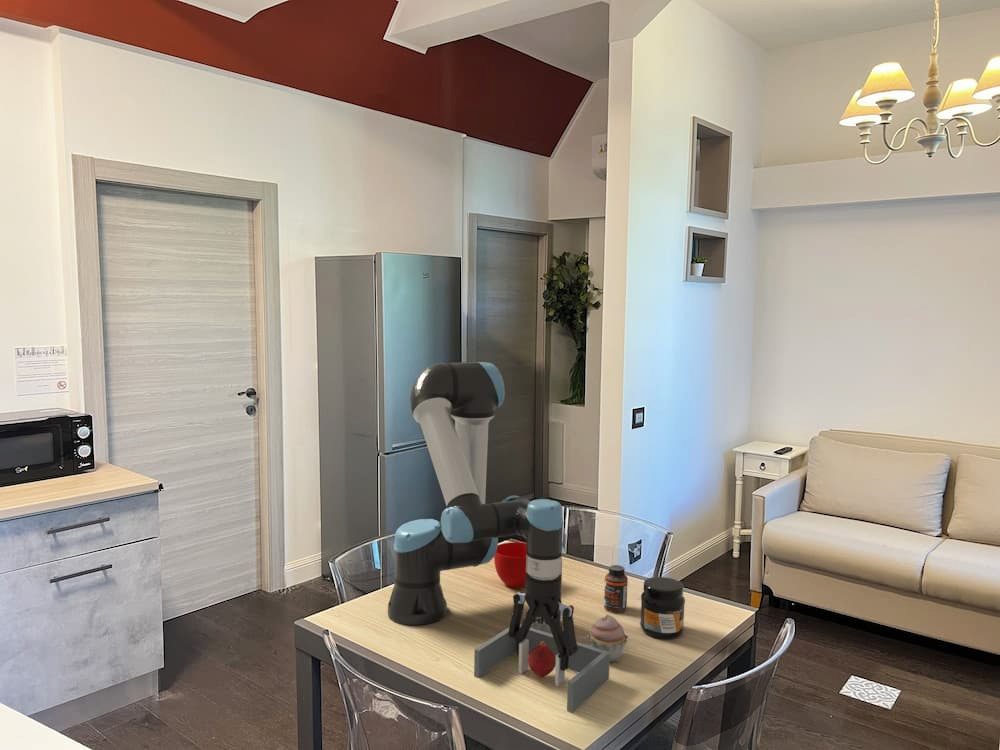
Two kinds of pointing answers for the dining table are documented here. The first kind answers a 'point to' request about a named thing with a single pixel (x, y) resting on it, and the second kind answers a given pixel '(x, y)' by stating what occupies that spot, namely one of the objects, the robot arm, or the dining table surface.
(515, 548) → the ceramic cup
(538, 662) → the onion
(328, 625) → the dining table surface
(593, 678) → the open u-shaped frame
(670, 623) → the supplement container
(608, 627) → the cupcake
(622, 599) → the supplement bottle
